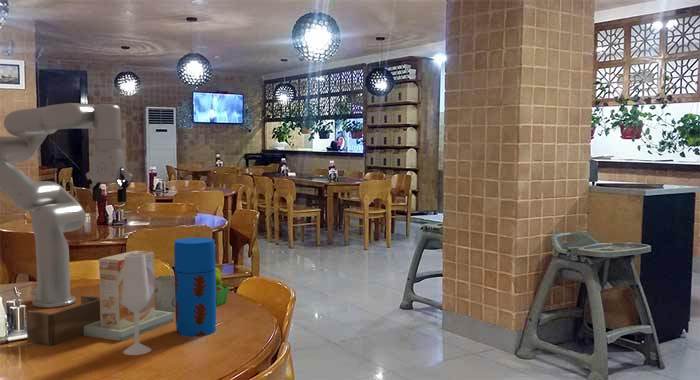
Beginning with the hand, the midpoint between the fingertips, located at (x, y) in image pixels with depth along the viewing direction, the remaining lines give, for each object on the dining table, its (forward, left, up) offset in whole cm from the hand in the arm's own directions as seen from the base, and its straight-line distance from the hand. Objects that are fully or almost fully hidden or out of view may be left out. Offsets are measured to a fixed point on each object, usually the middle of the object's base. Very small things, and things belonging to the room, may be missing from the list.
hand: (109, 201), depth 204 cm
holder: (+8, -25, -33) cm, 42 cm away
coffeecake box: (+19, -14, -32) cm, 40 cm away
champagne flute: (+35, -29, -34) cm, 56 cm away
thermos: (+38, -9, -34) cm, 51 cm away
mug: (+14, +5, -34) cm, 37 cm away
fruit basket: (+23, +19, -34) cm, 45 cm away
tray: (+20, -14, -33) cm, 41 cm away
